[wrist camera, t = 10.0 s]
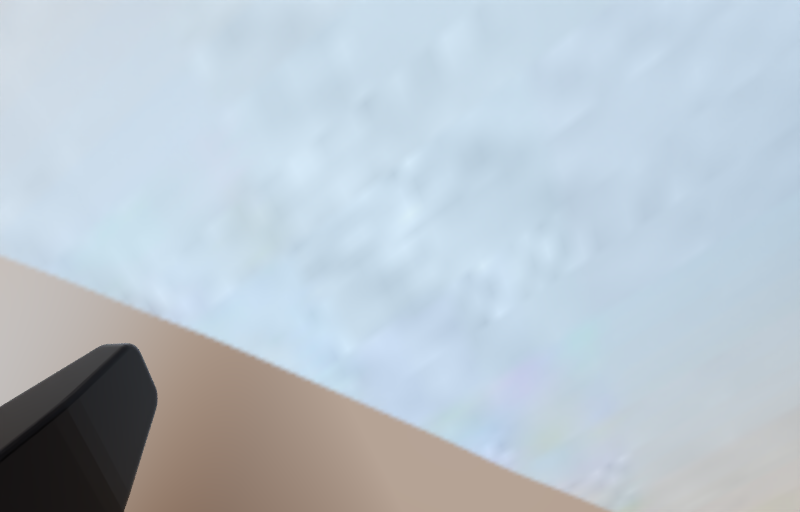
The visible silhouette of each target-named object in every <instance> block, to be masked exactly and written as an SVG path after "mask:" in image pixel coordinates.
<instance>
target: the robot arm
mask: <svg viewBox="0 0 800 512" xmlns="http://www.w3.org/2000/svg"><path fill="white" fill-rule="evenodd" d="M156 406H157V390H156V387H155V385H154V382H153V380H152V378H151V376H150V373H149V371H148V369H147V366H146V364H145V362H144V360H143V357H142V355H141V353H140V351H139V349H138V348H137V347H136V346H135V345H133V344H128V343H124V344H106V345H102V346H100V347H98V348H96V349H94V350H93V351H91V352H90V353H88V354H86V355H85V356H83V357H81V358H80V359H78V360H76V361H75V362H73V363H71V364H70V365H68V366H66V367H65V368H63V369H61V370H60V371H58V372H56V373H55V374H53V375H52V376H50V377H48V378H47V379H45V380H43V381H42V382H40V383H38V384H37V385H35V386H34V387H32V388H30V389H28V390H27V391H25V392H24V393H22V394H20V395H19V396H17V397H15V398H14V399H12V400H10V401H9V402H7V403H5V404H4V405H2V406H1V407H0V512H124V509H125V506H126V504H127V501H128V498H129V495H130V492H131V488H132V485H133V482H134V479H135V475H136V472H137V469H138V466H139V462H140V459H141V456H142V453H143V450H144V446H145V443H146V440H147V437H148V433H149V430H150V427H151V423H152V421H153V417H154V414H155V410H156Z"/></svg>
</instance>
